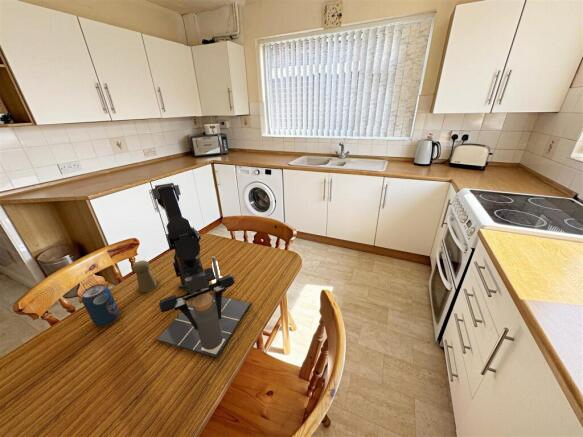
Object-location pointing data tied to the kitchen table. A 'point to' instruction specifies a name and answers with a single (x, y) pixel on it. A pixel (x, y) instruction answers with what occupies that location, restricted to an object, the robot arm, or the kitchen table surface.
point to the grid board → (188, 337)
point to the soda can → (100, 305)
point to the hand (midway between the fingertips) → (208, 324)
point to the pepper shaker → (144, 276)
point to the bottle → (207, 321)
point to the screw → (215, 270)
